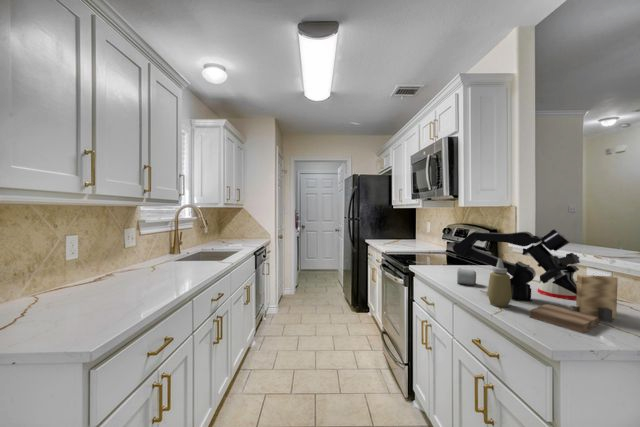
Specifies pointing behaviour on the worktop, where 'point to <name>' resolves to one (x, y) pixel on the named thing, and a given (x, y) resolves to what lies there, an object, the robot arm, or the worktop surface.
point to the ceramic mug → (466, 276)
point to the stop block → (605, 314)
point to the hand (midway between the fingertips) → (578, 293)
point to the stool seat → (565, 318)
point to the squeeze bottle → (499, 286)
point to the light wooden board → (596, 294)
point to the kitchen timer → (555, 290)
